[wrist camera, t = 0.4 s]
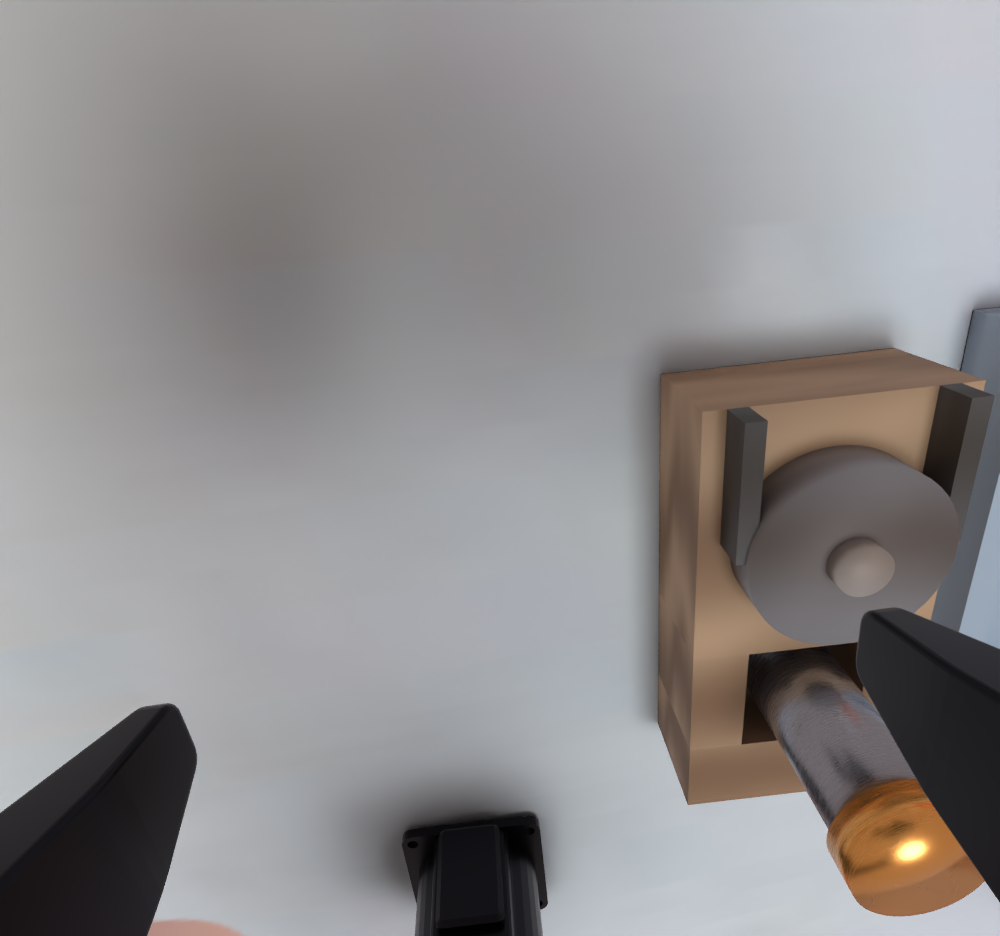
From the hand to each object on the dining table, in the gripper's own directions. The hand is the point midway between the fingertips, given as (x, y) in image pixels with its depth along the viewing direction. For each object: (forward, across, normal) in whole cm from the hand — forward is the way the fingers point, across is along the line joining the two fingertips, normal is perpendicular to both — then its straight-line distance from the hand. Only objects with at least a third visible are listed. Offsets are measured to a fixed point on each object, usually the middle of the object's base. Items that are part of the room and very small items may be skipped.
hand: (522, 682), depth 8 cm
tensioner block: (+14, -10, +8) cm, 19 cm away
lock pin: (+14, -10, +11) cm, 20 cm away
